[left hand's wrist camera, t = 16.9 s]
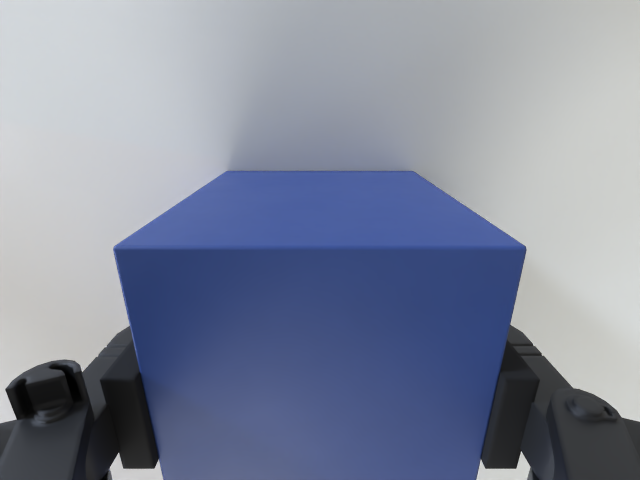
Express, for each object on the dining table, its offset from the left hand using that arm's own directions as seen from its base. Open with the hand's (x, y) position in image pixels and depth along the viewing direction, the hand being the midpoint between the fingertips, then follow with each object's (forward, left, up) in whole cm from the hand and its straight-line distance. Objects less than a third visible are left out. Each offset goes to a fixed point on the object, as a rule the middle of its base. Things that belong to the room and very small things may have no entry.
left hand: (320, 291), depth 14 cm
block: (0, 0, -3) cm, 3 cm away
